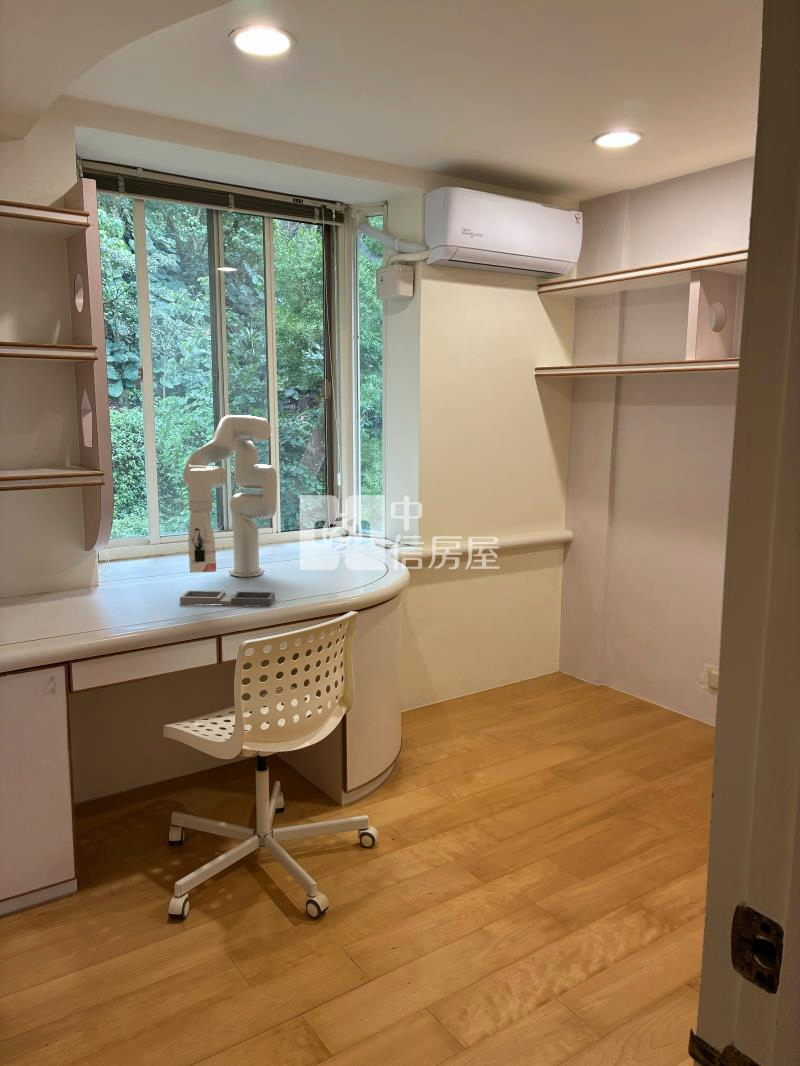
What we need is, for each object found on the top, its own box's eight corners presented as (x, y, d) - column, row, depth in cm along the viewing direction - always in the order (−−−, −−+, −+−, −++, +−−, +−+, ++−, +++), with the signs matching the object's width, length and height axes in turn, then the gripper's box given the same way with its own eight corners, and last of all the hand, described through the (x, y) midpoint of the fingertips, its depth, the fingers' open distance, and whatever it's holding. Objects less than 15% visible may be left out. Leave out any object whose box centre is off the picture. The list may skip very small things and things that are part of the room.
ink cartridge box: (216, 568, 269) (214, 525, 266) (215, 572, 264) (214, 528, 262) (190, 569, 268) (188, 526, 265) (189, 572, 263) (187, 529, 260)
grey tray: (225, 598, 272) (225, 591, 271) (275, 599, 271) (274, 592, 271) (219, 605, 263) (218, 598, 262) (270, 606, 262) (270, 599, 262)
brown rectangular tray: (187, 597, 272) (187, 590, 271) (225, 598, 272) (225, 591, 271) (180, 604, 263) (179, 597, 263) (219, 605, 263) (218, 598, 262)
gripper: (196, 501, 270) (198, 553, 274) (181, 510, 253) (183, 565, 257) (218, 502, 270) (219, 553, 274) (204, 510, 253) (206, 565, 257)
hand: (202, 558), depth 265 cm, fingers closed on ink cartridge box, 5 cm apart
